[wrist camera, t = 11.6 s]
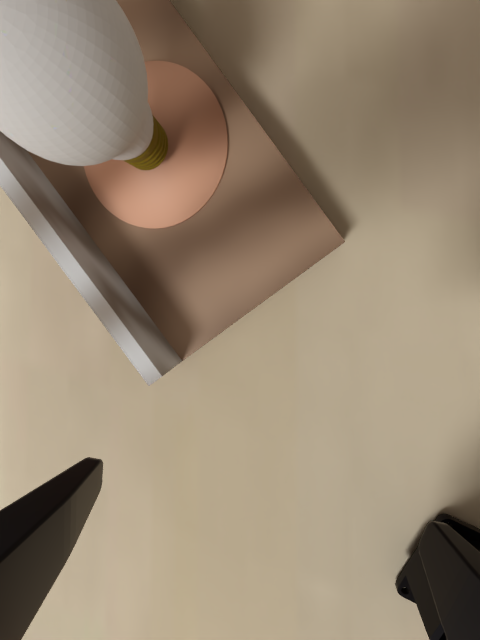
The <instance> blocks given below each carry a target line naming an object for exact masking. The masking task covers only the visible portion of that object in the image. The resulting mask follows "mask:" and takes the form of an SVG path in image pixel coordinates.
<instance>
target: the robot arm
mask: <svg viewBox="0 0 480 640" xmlns="http://www.w3.org/2000/svg"><path fill="white" fill-rule="evenodd" d="M102 474H103V461H102V460H101V459H96V458H91V457H88V458H85V459H83V460H82V461H80V462H78V463H77V464H75V465H73V466H72V467H70V468H69V469H67V470H65V471H64V472H62V473H60V474H59V475H57V476H56V477H54V478H52V479H51V480H49V481H47V482H46V483H44V484H42V485H41V486H39V487H38V488H36V489H34V490H33V491H31V492H29V493H28V494H26V495H25V496H23V497H21V498H20V499H18V500H16V501H15V502H13V503H12V504H10V505H8V506H7V507H5V508H3V509H2V510H0V640H21V639H22V637H23V636H24V634H25V632H26V630H27V629H28V627H29V625H30V624H31V622H32V620H33V618H34V617H35V615H36V613H37V611H38V610H39V608H40V606H41V605H42V603H43V601H44V599H45V598H46V596H47V594H48V593H49V591H50V589H51V587H52V586H53V584H54V582H55V581H56V579H57V577H58V575H59V574H60V572H61V570H62V568H63V567H64V565H65V563H66V561H67V560H68V558H69V556H70V554H71V552H72V550H73V548H74V546H75V544H76V542H77V539H78V537H79V535H80V533H81V531H82V529H83V527H84V524H85V522H86V520H87V518H88V516H89V514H90V512H91V510H92V507H93V505H94V503H95V501H96V499H97V497H98V495H99V492H100V489H101V486H102ZM447 522H448V524H445V523H447ZM395 585H396V588H397V592H398V593H399V595H401V596H402V597H404V598H406V599H408V600H410V601H412V602H414V603H416V604H417V607H418V610H419V613H420V615H421V618H422V621H423V623H424V626H425V629H426V632H427V634H428V637H429V639H430V640H480V529H478V528H476V527H474V526H472V525H469V524H467V523H465V522H463V521H461V520H459V519H457V518H455V517H452V516H450V515H448V514H441V515H439V516H438V517H437V518H436V520H435V521H430V522H429V523H428V524H427V526H426V528H425V530H424V532H423V534H422V537H421V539H420V541H419V546H418V547H417V549H416V550H415V552H414V553H413V555H412V556H411V558H410V560H409V561H408V563H407V564H406V566H405V567H404V570H403V571H402V573H401V574H400V576H399V577H398V579H397V580H396V583H395ZM404 587H406V588H404Z"/></svg>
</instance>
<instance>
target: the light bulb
mask: <svg viewBox="0 0 480 640" xmlns="http://www.w3.org/2000/svg"><path fill="white" fill-rule="evenodd" d="M0 131H1V132H2V133H3V134H4V135H6V136H7V137H8V138H10V139H11V140H12V141H14V142H15V143H17V144H18V145H19V146H21V147H22V148H24V149H26V150H27V151H29V152H31V153H33V154H35V155H38V156H40V157H42V158H44V159H47V160H50V161H53V162H57V163H60V164H65V165H73V166H89V165H96V164H100V163H103V162H106V161H109V160H111V159H114V160H123V161H125V162H127V163H128V164H130V165H132V166H134V167H136V168H137V169H140V170H152V169H154V168H156V167H158V166H159V165H160V164H161V163H162V162H163V160H164V159H165V157H166V154H167V151H168V138H167V135H166V132H165V130H164V129H163V127H162V126H161V125H160V123H159V122H158V121H157V120H156V118H155V117H154V116H153V115H152V112H151V108H150V106H149V103H148V82H147V72H146V67H145V62H144V58H143V54H142V51H141V48H140V45H139V42H138V40H137V37H136V35H135V32H134V30H133V28H132V26H131V24H130V22H129V21H128V19H127V17H126V15H125V13H124V12H123V10H122V8H121V7H120V5H119V4H118V3H117V1H116V0H0Z"/></svg>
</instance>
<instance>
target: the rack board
mask: <svg viewBox="0 0 480 640" xmlns="http://www.w3.org/2000/svg"><path fill="white" fill-rule="evenodd" d="M116 1H117V3H118V4H119V5H120V7H121V8H122V10H123V12H124V13H125V15H126V17H127V19H128V21H129V22H130V24H131V26H132V28H133V30H134V32H135V35H136V37H137V40H138V42H139V45H140V48H141V51H142V54H143V58H144V62H145V67H146V72H147V82H148V103H149V106H150V108H151V112H152V115H153V116H154V117H155V118H156V120H157V121H158V122H159V123H160V125H161V126H162V127H163V129H164V130H165V132H166V135H167V138H168V151H167V154H166V157H165V159H164V160H163V162H162V163H161V164H160V165H159V166H158V167H156V168H154V169H152V170H140V169H137V168H136V167H134V166H132V165H130V164H128V163H127V162H125V161H123V160H114V159H111V160H109V161H106V162H103V163H100V164H96V165H89V166H73V165H65V164H60V163H57V162H53V161H50V160H47V159H44V158H42V157H40V156H38V155H35V154H33V153H31V152H29V151H27V150H26V149H24V148H22V147H21V146H19V145H18V144H17V143H15V142H14V141H12V140H11V139H10V138H8V137H7V136H6V135H4V134H3V133H2V132H1V131H0V186H1V187H2V189H3V190H4V191H5V193H6V194H7V195H8V197H9V198H10V199H11V201H12V202H13V204H14V205H15V206H16V208H17V209H18V210H19V212H20V213H21V214H22V216H23V217H24V218H25V220H26V221H27V222H28V224H29V225H30V226H31V228H32V229H33V230H34V232H35V233H36V235H37V236H38V237H39V239H40V240H41V241H42V243H43V244H44V245H45V247H46V248H47V249H48V251H49V252H50V253H51V255H52V256H53V257H54V259H55V260H56V262H57V263H58V264H59V266H60V267H61V268H62V270H63V271H64V272H65V274H66V275H67V276H68V278H69V279H70V280H71V282H72V283H73V284H74V286H75V287H76V288H77V290H78V291H79V293H80V294H81V295H82V297H83V298H84V299H85V301H86V302H87V303H88V305H89V306H90V307H91V309H92V310H93V311H94V313H95V314H96V315H97V317H98V318H99V320H100V321H101V322H102V324H103V325H104V326H105V328H106V329H107V330H108V332H109V333H110V334H111V336H112V337H113V338H114V340H115V341H116V342H117V344H118V345H119V346H120V348H121V349H122V351H123V352H124V353H125V355H126V356H127V357H128V359H129V360H130V361H131V363H132V364H133V365H134V367H135V368H136V369H137V371H138V372H139V373H140V375H141V376H142V378H143V379H144V380H145V382H146V383H147V384H148V386H150V385H151V384H152V383H154V382H155V381H156V380H158V379H159V378H160V377H162V376H163V375H164V374H166V373H167V372H168V371H170V370H171V369H172V368H174V367H175V366H176V365H178V364H179V363H180V362H182V361H183V360H184V359H186V358H187V357H188V356H190V355H191V354H192V353H194V352H195V351H197V350H198V349H199V348H201V347H202V346H203V345H205V344H206V343H208V342H209V341H210V340H212V339H213V338H214V337H216V336H217V335H218V334H220V333H221V332H223V331H224V330H225V329H227V328H228V327H229V326H231V325H232V324H233V323H235V322H236V321H238V320H239V319H240V318H242V317H243V316H244V315H246V314H247V313H248V312H250V311H251V310H253V309H254V308H255V307H257V306H258V305H259V304H261V303H262V302H263V301H265V300H266V299H268V298H269V297H270V296H272V295H273V294H274V293H276V292H277V291H278V290H280V289H281V288H283V287H284V286H285V285H287V284H288V283H289V282H291V281H292V280H294V279H295V278H296V277H298V276H299V275H300V274H302V273H303V272H304V271H306V270H307V269H309V268H310V267H311V266H313V265H314V264H315V263H317V262H318V261H319V260H321V259H322V258H324V257H325V256H326V255H328V254H329V253H330V252H332V251H333V250H334V249H336V248H337V247H339V246H340V245H341V244H343V243H344V242H345V241H344V239H343V238H342V237H341V235H340V234H339V233H338V231H337V230H336V228H335V227H334V226H333V224H332V223H331V222H330V220H329V219H328V217H327V216H326V215H325V213H324V212H323V211H322V209H321V208H320V207H319V205H318V204H317V202H316V201H315V200H314V198H313V197H312V196H311V194H310V193H309V191H308V190H307V189H306V187H305V186H304V185H303V183H302V182H301V180H300V179H299V178H298V176H297V175H296V174H295V172H294V171H293V169H292V168H291V167H290V165H289V164H288V163H287V161H286V160H285V158H284V157H283V156H282V154H281V153H280V152H279V150H278V149H277V147H276V146H275V145H274V143H273V142H272V141H271V139H270V138H269V136H268V135H267V134H266V132H265V131H264V130H263V128H262V127H261V125H260V124H259V123H258V121H257V120H256V119H255V117H254V116H253V114H252V113H251V112H250V110H249V109H248V108H247V106H246V105H245V103H244V102H243V101H242V99H241V98H240V97H239V95H238V94H237V92H236V91H235V90H234V88H233V87H232V86H231V84H230V83H229V82H228V80H227V79H226V77H225V76H224V75H223V73H222V72H221V71H220V69H219V68H218V66H217V65H216V64H215V62H214V61H213V60H212V58H211V57H210V55H209V54H208V53H207V51H206V50H205V49H204V47H203V46H202V44H201V43H200V42H199V40H198V39H197V38H196V36H195V35H194V33H193V32H192V31H191V29H190V28H189V27H188V25H187V24H186V22H185V21H184V20H183V18H182V17H181V16H180V14H179V13H178V11H177V10H176V9H175V7H174V6H173V5H172V3H171V2H170V0H116Z"/></svg>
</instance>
